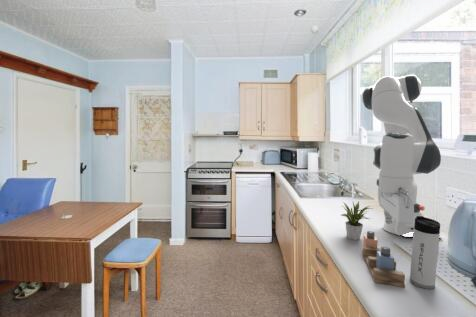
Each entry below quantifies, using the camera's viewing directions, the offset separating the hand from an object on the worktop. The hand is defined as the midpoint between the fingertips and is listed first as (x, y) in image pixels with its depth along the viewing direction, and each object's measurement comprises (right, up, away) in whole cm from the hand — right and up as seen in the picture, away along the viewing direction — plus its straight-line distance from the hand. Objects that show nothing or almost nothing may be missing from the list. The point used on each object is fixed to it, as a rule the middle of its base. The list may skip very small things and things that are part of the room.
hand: (393, 228), depth 80 cm
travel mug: (+7, -16, -2) cm, 18 cm away
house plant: (+3, -13, +32) cm, 34 cm away
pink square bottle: (+2, -14, +18) cm, 23 cm away
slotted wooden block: (-1, -15, +6) cm, 16 cm away
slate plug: (-2, -15, +2) cm, 15 cm away
